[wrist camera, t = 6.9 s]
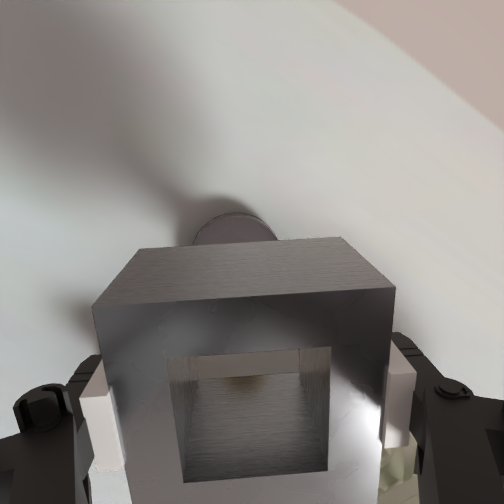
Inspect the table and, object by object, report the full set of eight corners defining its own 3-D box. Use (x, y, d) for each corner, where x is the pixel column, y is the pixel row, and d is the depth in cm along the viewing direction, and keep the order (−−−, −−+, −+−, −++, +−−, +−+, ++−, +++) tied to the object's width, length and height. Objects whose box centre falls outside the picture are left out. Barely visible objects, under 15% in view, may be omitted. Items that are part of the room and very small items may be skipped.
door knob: (196, 300, 26) (180, 374, 18) (187, 215, 24) (165, 254, 16) (281, 293, 27) (305, 364, 18) (279, 210, 25) (305, 245, 16)
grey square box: (164, 413, 16) (136, 526, 12) (139, 248, 14) (91, 306, 9) (335, 400, 17) (376, 504, 12) (340, 236, 14) (395, 286, 9)
